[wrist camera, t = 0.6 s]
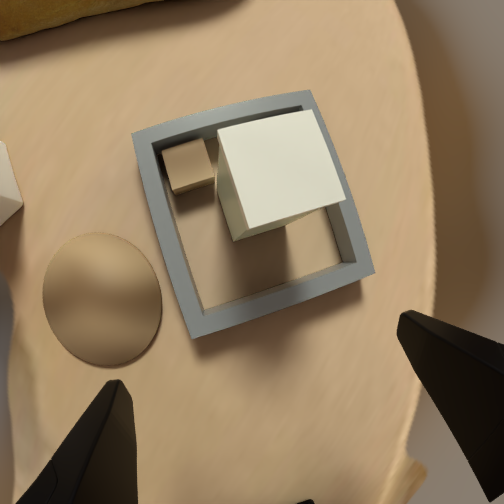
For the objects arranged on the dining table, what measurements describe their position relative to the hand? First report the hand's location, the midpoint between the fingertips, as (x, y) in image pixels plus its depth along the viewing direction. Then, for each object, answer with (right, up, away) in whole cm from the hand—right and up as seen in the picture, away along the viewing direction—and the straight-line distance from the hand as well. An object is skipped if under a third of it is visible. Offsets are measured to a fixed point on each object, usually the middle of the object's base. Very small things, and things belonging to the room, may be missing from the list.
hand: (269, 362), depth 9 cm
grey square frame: (-1, +6, +14) cm, 15 cm away
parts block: (-5, +9, +13) cm, 17 cm away
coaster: (-12, 0, +12) cm, 17 cm away
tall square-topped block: (-1, +6, +14) cm, 15 cm away
